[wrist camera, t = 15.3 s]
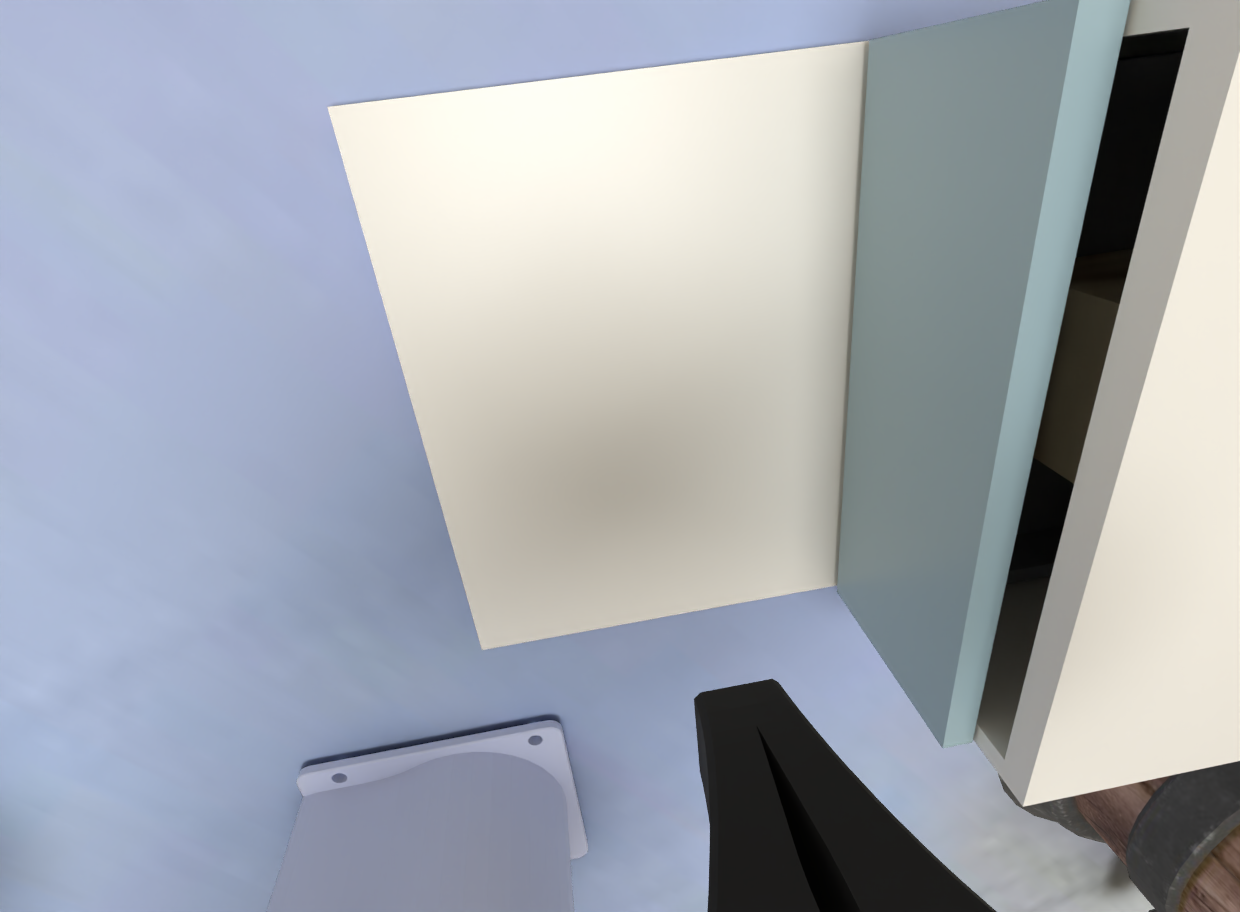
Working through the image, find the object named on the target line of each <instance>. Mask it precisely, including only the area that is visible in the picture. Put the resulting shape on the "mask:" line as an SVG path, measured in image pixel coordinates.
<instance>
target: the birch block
mask: <svg viewBox="0 0 1240 912" xmlns="http://www.w3.org/2000/svg"><path fill="white" fill-rule="evenodd" d="M1133 249H1134V248H1133ZM1133 249H1127V250H1120V251H1114V252H1108V253H1101V254H1095V255H1088V256H1082V257H1076V258H1075V263H1074V267H1073V272H1072V277H1071V281H1070V286H1069V291H1068V296H1067V300H1066V305H1065V310H1064V314H1063V319H1062V324H1061V328H1060V333H1059V338H1058V342H1057V347H1056V352H1055V356H1054V361H1053V366H1052V371H1051V375H1050V380H1049V385H1048V389H1047V394H1046V399H1045V403H1044V408H1043V413H1042V417H1041V422H1040V427H1039V432H1038V436H1037V441H1036V446H1035V450H1034V455H1033V457H1034V458H1035V459H1037V460H1038V461H1040V462H1041V463H1043V464H1044V465H1046V466H1047V467H1049V468H1050V469H1052V470H1053V471H1055V472H1056V473H1058V474H1059V475H1061V476H1063V477H1064V478H1066V479H1067V480H1069V481H1070V482H1072V483H1073V484H1074V483H1075V479H1076V475H1077V471H1078V467H1079V463H1080V459H1081V455H1082V451H1083V447H1084V443H1085V439H1086V435H1087V431H1088V428H1089V424H1090V420H1091V416H1092V412H1093V408H1094V404H1095V400H1096V396H1097V392H1098V388H1099V384H1100V380H1101V376H1102V372H1103V368H1104V364H1105V360H1106V356H1107V352H1108V348H1109V344H1110V340H1111V336H1112V333H1113V329H1114V325H1115V321H1116V317H1117V313H1118V309H1119V305H1120V301H1121V297H1122V293H1123V289H1124V285H1125V281H1126V277H1127V273H1128V269H1129V265H1130V261H1131V257H1132V253H1133Z"/></svg>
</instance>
